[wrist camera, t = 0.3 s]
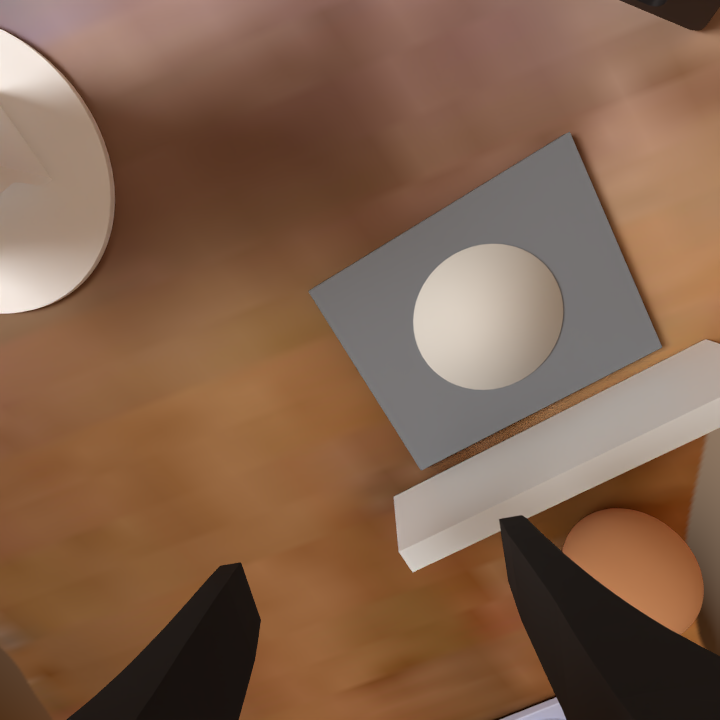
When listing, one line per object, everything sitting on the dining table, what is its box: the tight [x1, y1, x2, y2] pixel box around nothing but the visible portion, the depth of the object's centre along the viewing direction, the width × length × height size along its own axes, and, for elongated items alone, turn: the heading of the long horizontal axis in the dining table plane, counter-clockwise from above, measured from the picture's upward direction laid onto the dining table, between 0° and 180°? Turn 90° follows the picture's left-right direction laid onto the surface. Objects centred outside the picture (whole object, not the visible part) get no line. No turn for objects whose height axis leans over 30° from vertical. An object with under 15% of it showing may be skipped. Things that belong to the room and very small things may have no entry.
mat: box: [309, 132, 662, 470], centre depth 20 cm, size 10×12×1 cm
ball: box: [562, 508, 704, 635], centre depth 21 cm, size 6×6×6 cm
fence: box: [394, 339, 720, 572], centre depth 20 cm, size 1×16×4 cm, turn 121°
